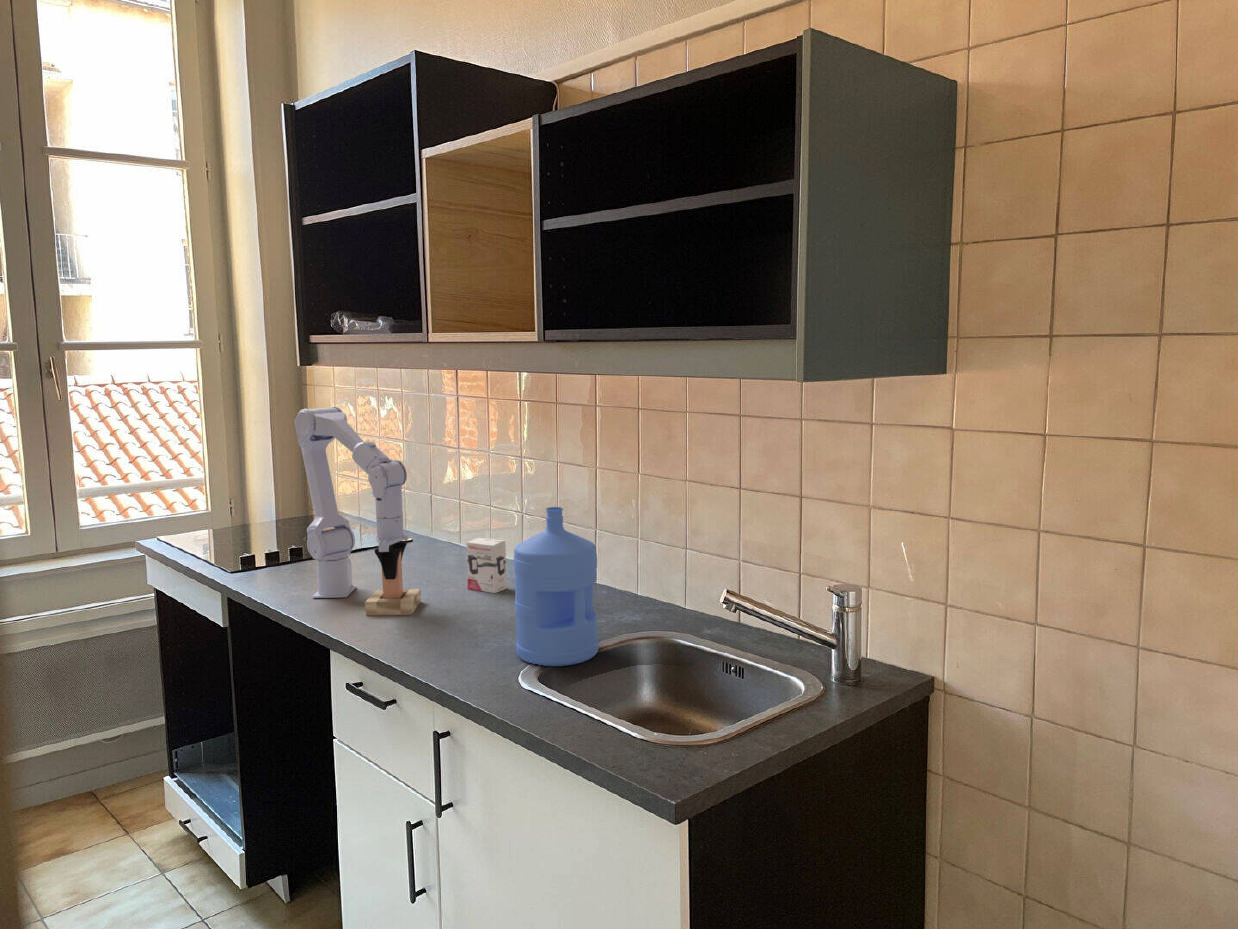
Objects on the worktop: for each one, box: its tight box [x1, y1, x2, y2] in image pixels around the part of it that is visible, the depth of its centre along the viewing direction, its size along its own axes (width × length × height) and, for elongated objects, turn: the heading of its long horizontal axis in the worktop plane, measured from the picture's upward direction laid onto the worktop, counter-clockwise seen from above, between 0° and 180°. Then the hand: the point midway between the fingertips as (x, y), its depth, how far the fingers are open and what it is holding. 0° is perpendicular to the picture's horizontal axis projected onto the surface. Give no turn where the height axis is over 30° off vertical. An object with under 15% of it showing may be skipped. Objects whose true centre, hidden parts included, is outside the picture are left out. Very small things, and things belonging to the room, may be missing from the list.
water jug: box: [513, 506, 600, 667], centre depth 174 cm, size 16×16×28 cm
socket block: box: [364, 588, 422, 616], centre depth 207 cm, size 10×10×3 cm
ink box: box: [466, 537, 508, 594], centre depth 221 cm, size 8×5×12 cm, turn 60°
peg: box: [381, 552, 404, 598], centre depth 206 cm, size 4×4×10 cm
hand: (392, 576), depth 206 cm, fingers closed on peg, 4 cm apart
